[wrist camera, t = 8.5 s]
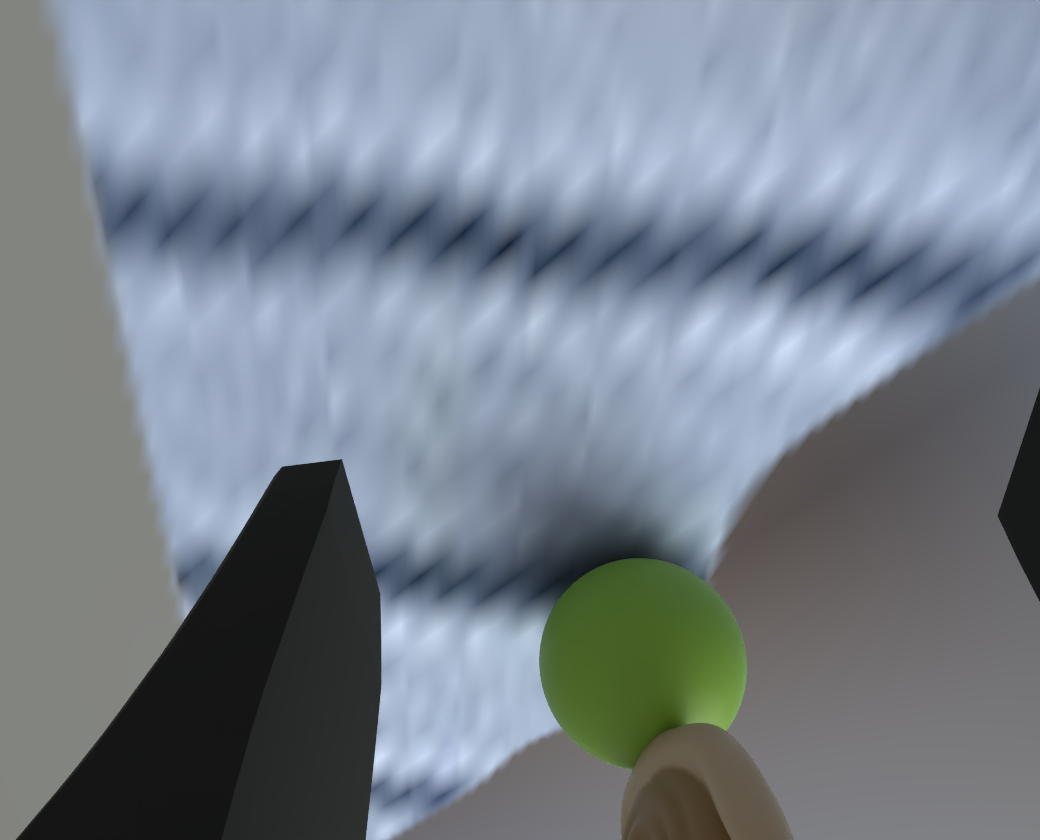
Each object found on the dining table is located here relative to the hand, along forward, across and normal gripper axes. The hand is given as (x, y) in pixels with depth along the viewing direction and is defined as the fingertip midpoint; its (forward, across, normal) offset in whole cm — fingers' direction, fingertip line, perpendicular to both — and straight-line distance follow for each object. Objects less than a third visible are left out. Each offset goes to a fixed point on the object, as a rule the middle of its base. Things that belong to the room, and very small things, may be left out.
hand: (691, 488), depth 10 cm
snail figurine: (+11, -1, +13) cm, 17 cm away
